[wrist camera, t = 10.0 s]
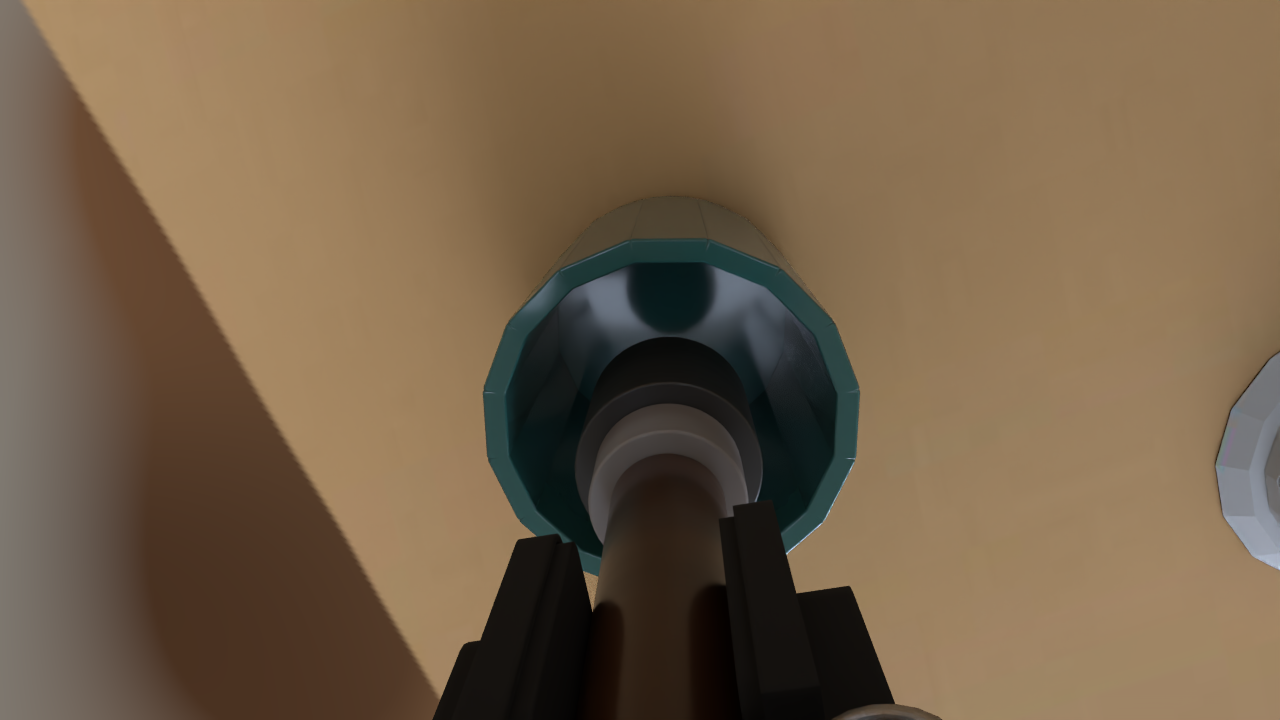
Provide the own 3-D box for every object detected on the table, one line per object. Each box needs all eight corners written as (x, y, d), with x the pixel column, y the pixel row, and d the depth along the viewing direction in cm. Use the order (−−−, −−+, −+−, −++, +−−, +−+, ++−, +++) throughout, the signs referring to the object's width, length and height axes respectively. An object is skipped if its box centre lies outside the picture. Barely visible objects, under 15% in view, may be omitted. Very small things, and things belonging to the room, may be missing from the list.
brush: (566, 447, 20) (374, 1045, 7) (629, 310, 19) (540, 711, 6) (706, 507, 20) (765, 1188, 7) (774, 375, 19) (980, 889, 6)
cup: (495, 323, 28) (408, 425, 19) (670, 140, 26) (668, 153, 17) (671, 485, 29) (671, 655, 20) (849, 321, 27) (937, 425, 18)
